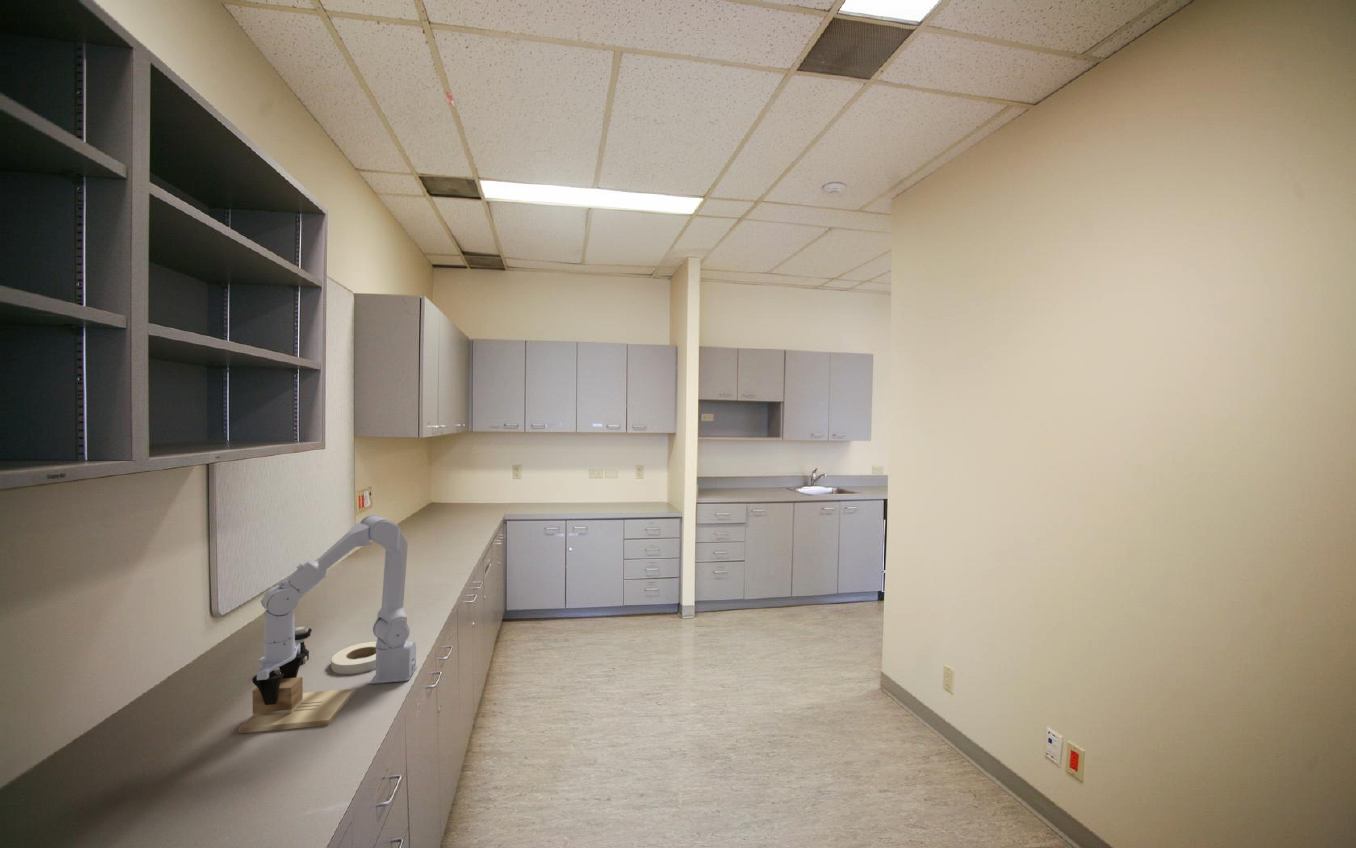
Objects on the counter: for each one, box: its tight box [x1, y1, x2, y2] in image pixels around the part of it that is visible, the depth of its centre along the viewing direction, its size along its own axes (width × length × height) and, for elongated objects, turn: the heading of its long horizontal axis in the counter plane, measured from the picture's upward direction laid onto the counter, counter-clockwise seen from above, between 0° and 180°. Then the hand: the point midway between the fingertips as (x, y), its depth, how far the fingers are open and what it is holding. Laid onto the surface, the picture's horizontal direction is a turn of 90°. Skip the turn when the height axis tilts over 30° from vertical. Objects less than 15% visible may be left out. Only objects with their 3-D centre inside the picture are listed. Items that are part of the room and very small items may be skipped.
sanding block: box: [252, 676, 304, 717], centre depth 123 cm, size 8×5×6 cm, turn 101°
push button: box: [295, 625, 313, 667], centre depth 148 cm, size 7×5×10 cm
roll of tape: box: [330, 641, 377, 675], centre depth 151 cm, size 16×15×3 cm
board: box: [238, 688, 355, 734], centre depth 124 cm, size 18×14×1 cm
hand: (280, 695), depth 123 cm, fingers open, 7 cm apart
